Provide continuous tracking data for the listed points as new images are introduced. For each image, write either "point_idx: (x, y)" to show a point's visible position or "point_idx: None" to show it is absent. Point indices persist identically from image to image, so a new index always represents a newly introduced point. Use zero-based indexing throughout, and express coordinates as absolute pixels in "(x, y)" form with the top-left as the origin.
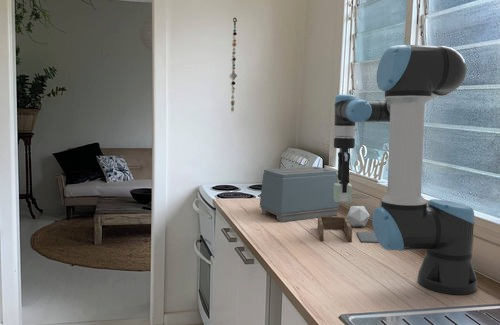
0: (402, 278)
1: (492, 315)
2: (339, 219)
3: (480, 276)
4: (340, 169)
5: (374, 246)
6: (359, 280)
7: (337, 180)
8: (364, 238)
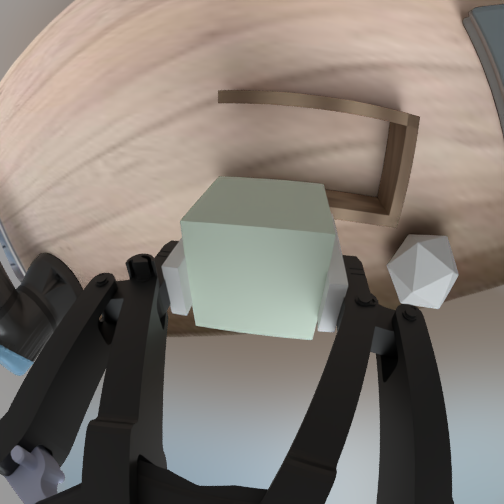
0: (51, 238)
1: None
2: (390, 196)
3: None
4: (315, 395)
5: None
6: (26, 175)
7: None
8: None
